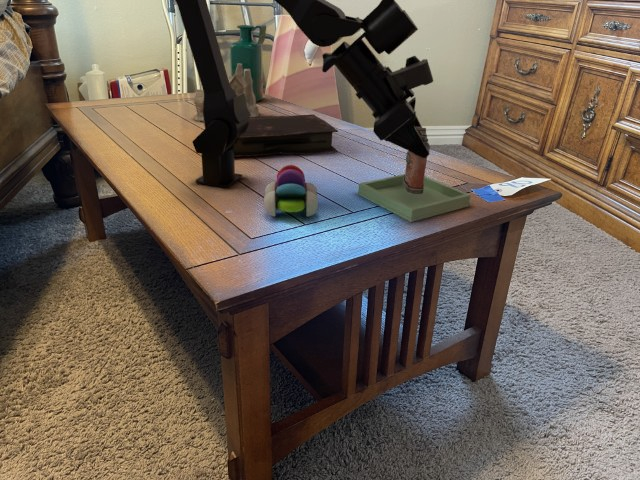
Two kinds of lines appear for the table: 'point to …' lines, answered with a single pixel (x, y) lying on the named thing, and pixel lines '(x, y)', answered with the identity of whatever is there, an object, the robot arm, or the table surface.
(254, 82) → the pitcher
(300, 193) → the rainbow wheeled toy
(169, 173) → the table surface
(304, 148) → the diary
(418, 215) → the dish
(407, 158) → the lighter
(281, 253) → the table surface
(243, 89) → the ceramic cottage
